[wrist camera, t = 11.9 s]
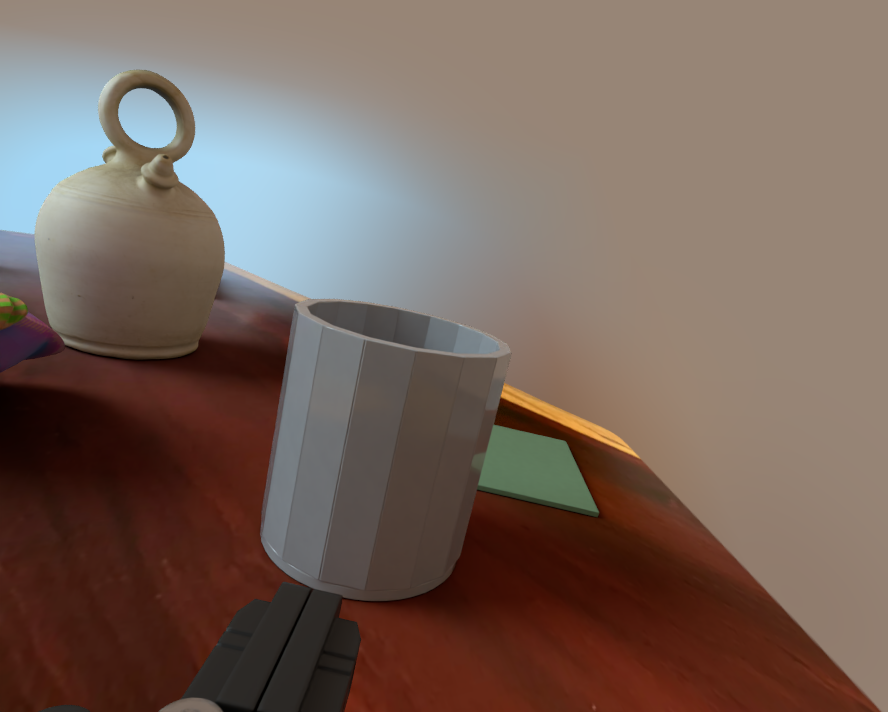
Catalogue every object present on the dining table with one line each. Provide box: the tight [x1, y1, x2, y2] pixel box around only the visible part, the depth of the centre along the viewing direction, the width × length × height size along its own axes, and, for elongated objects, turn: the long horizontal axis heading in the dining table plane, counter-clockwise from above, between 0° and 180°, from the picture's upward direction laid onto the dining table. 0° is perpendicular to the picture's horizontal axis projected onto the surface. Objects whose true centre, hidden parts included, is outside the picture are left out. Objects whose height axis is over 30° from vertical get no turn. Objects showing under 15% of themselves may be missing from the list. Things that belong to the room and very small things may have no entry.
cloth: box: [477, 425, 599, 517], centre depth 45 cm, size 22×14×1 cm, turn 87°
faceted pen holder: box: [260, 299, 512, 601], centre depth 28 cm, size 11×11×12 cm
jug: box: [35, 70, 225, 359], centre depth 50 cm, size 15×16×25 cm
